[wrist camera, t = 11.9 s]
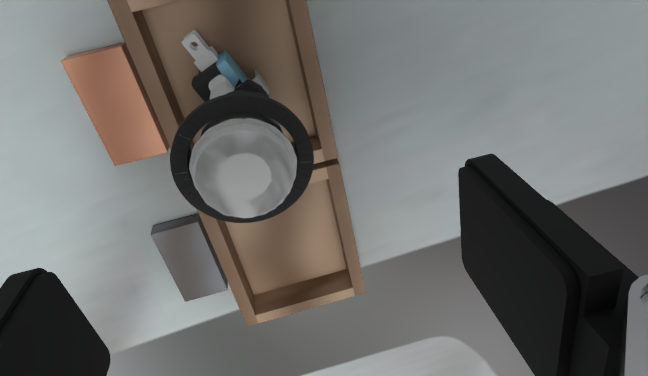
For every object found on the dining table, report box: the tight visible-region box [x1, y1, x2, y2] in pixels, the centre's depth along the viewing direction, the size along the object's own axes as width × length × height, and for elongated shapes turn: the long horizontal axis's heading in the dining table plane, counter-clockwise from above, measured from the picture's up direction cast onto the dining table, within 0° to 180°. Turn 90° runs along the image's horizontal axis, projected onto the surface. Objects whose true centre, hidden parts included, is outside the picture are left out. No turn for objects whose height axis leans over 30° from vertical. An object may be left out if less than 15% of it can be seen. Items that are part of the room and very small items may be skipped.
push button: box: [170, 30, 314, 223], centre depth 19 cm, size 7×5×10 cm
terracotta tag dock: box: [61, 0, 338, 166], centre depth 23 cm, size 12×11×3 cm
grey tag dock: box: [151, 158, 365, 326], centre depth 29 cm, size 12×11×3 cm
